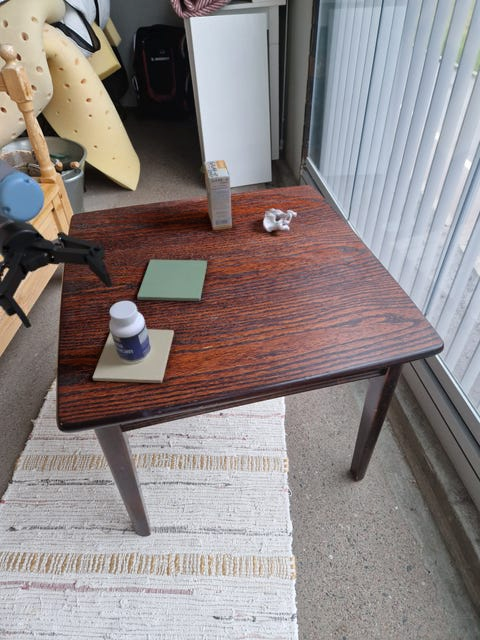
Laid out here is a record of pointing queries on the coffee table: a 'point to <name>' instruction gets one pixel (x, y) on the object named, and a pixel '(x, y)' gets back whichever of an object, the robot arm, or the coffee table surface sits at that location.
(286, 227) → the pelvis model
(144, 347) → the pill bottle
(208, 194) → the supplement box
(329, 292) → the coffee table surface
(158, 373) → the cream mat
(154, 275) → the sage mat
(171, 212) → the coffee table surface
